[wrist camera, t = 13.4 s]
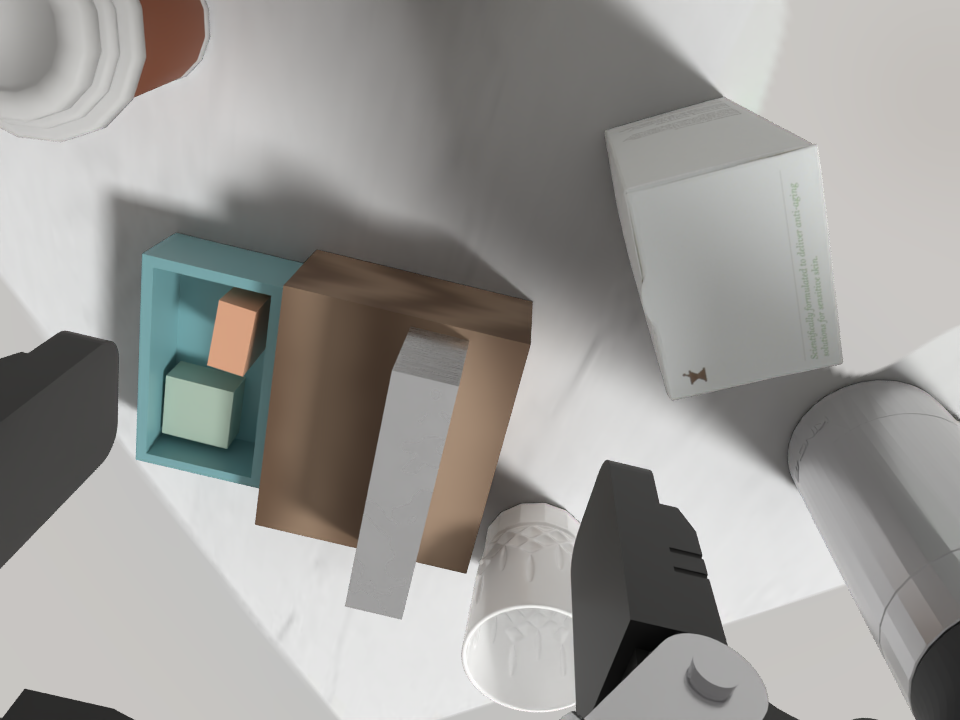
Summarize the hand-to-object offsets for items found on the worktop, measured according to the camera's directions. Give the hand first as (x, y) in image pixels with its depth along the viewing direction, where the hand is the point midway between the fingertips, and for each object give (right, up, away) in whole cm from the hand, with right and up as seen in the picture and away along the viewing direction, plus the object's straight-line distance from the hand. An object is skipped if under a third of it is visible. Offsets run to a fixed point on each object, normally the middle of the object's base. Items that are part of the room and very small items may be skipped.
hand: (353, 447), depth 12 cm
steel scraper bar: (-1, -3, +28) cm, 29 cm away
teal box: (-13, +2, +34) cm, 36 cm away
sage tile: (-15, -2, +33) cm, 36 cm away
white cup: (+6, -11, +38) cm, 40 cm away
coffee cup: (-15, +19, +26) cm, 35 cm away
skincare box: (+12, +10, +28) cm, 32 cm away
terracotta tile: (-10, +3, +30) cm, 32 cm away
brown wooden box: (-3, 0, +34) cm, 34 cm away
